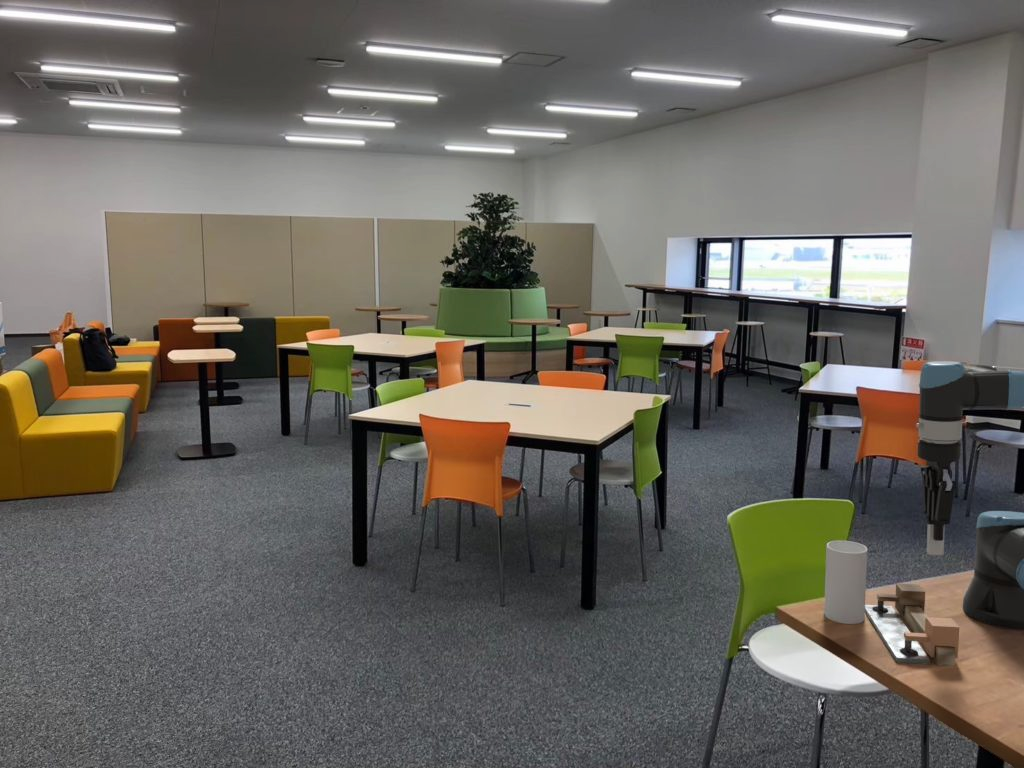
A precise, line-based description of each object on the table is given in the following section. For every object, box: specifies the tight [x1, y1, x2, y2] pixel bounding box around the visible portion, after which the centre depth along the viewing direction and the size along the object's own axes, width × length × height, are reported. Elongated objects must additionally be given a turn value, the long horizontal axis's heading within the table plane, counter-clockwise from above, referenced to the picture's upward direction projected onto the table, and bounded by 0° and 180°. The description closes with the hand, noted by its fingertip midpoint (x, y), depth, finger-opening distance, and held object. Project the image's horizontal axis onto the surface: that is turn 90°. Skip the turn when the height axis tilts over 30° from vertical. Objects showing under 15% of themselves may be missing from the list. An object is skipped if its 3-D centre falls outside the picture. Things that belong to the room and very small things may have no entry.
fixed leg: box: [876, 583, 926, 616], centre depth 173 cm, size 9×4×6 cm, turn 80°
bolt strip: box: [865, 604, 931, 665], centre depth 164 cm, size 6×25×1 cm, turn 170°
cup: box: [823, 540, 868, 625], centre depth 172 cm, size 8×8×16 cm
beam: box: [901, 605, 956, 667], centre depth 163 cm, size 3×25×3 cm, turn 170°
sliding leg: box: [904, 616, 960, 660], centre depth 154 cm, size 9×4×6 cm, turn 80°
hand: (935, 553), depth 159 cm, fingers closed
